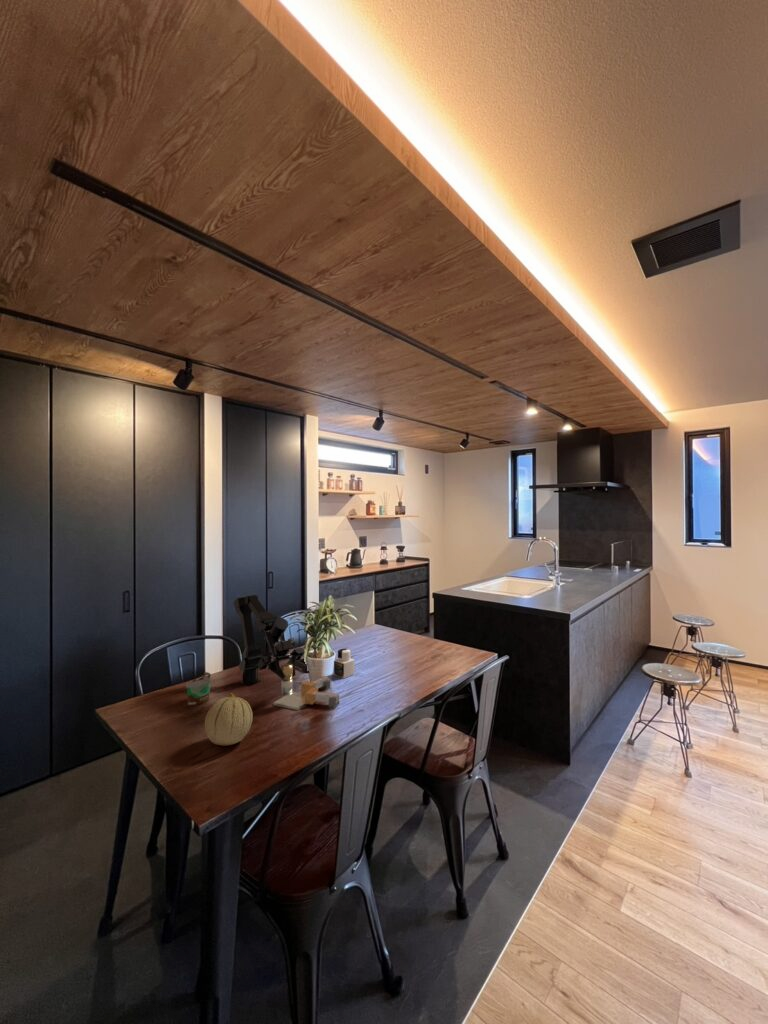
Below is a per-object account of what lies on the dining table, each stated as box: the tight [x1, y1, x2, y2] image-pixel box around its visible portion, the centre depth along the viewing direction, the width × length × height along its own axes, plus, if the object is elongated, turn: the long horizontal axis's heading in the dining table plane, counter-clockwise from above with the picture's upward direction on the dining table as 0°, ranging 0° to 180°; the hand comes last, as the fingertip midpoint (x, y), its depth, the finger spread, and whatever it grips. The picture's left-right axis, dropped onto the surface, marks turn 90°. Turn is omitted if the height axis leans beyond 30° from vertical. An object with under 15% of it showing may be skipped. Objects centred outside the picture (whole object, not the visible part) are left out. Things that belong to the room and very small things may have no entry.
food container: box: [185, 671, 213, 707], centre depth 167 cm, size 12×6×10 cm, turn 168°
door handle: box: [295, 657, 308, 673], centre depth 210 cm, size 3×20×16 cm
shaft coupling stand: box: [272, 676, 340, 711], centre depth 169 cm, size 24×24×5 cm
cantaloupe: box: [204, 692, 254, 747], centre depth 135 cm, size 15×15×15 cm
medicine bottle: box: [333, 648, 356, 679], centre depth 195 cm, size 7×7×12 cm
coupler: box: [280, 662, 294, 696], centre depth 163 cm, size 4×4×11 cm
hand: (288, 677), depth 162 cm, fingers closed on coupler, 4 cm apart
